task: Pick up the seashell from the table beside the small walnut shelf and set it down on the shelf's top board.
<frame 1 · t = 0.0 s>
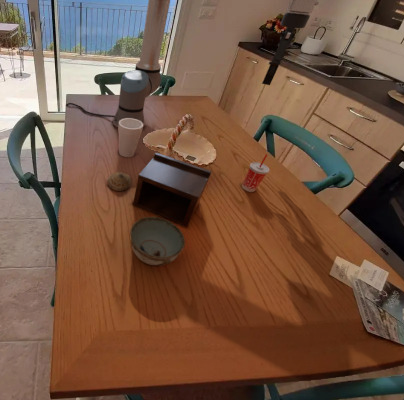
hand: (267, 79, 103), 28 cm above the table, tool pointing down, fingers open, 13 cm apart
beverage cup: (248, 188, 97), on the table
foam cup: (126, 153, 111), on the table
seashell: (118, 183, 95), on the table
bowl: (151, 255, 72), on the table
shelf: (165, 204, 88), on the table
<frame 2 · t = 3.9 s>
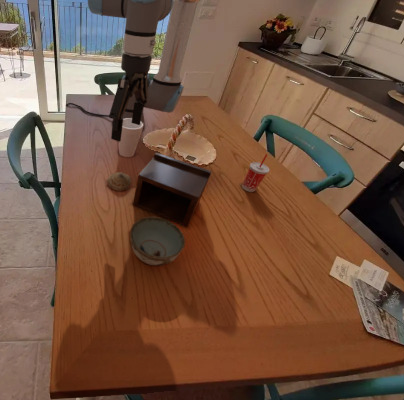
hand: (126, 131, 81), 20 cm above the table, tool pointing down, fingers open, 13 cm apart
nothing on the table moved.
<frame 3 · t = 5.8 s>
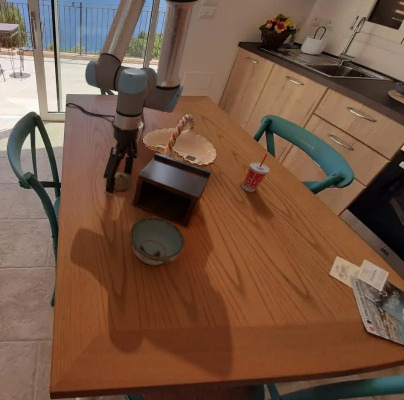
hand: (118, 182, 94), 1 cm above the table, tool pointing down, fingers open, 13 cm apart
nothing on the table moved.
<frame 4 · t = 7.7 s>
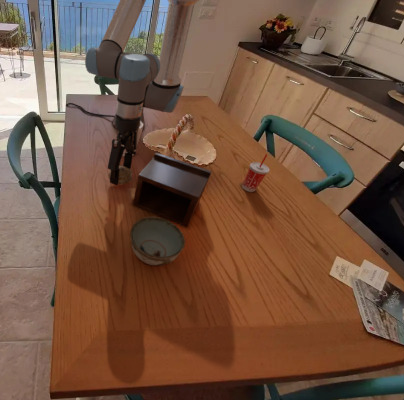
hand: (120, 176, 93), 3 cm above the table, tool pointing down, fingers closed on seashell, 9 cm apart
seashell: (120, 177, 94), point 2 cm above the table, touching gripper
everything else where it was.
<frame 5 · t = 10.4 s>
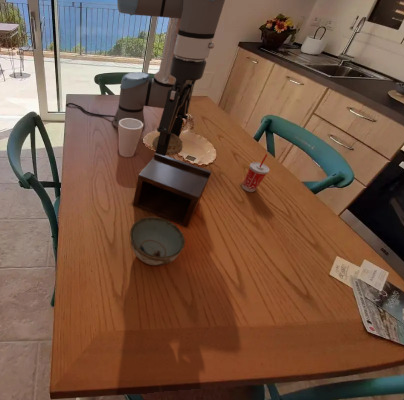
hand: (167, 146, 74), 21 cm above the table, tool pointing down, fingers closed on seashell, 9 cm apart
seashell: (166, 148, 75), point 20 cm above the table, touching gripper
everything else where it was.
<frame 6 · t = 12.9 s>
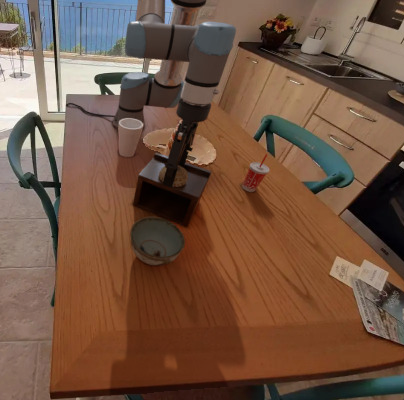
hand: (172, 177, 78), 12 cm above the table, tool pointing down, fingers closed on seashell, 9 cm apart
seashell: (172, 178, 79), point 12 cm above the table, touching gripper
everything else where it was.
when the fingers open (12 cm above the table, at t = 13.2 s): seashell stays where it is, resting on shelf.
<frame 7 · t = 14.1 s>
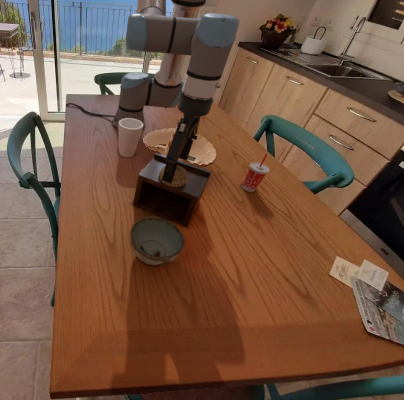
hand: (175, 169, 77), 15 cm above the table, tool pointing down, fingers open, 13 cm apart
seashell: (172, 178, 79), point 12 cm above the table, touching shelf
everything else where it was.
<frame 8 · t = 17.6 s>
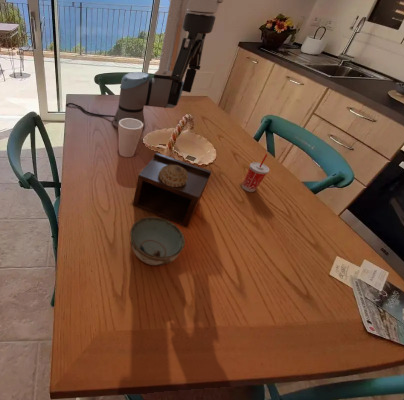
hand: (179, 97, 82), 29 cm above the table, tool pointing down, fingers open, 13 cm apart
nothing on the table moved.
at the end: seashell inside the target area on the shelf (2.1 cm from its centre), point 11.8 cm above the shelf's base; the gripper is holding nothing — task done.
